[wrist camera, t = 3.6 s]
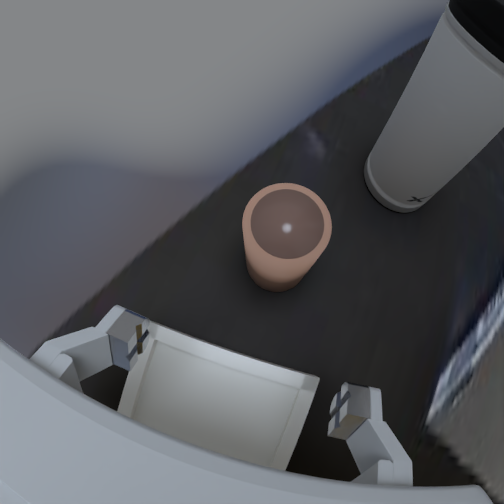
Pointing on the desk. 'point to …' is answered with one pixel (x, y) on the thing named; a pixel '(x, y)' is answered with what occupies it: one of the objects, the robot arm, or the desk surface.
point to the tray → (218, 397)
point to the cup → (284, 235)
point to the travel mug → (443, 108)
